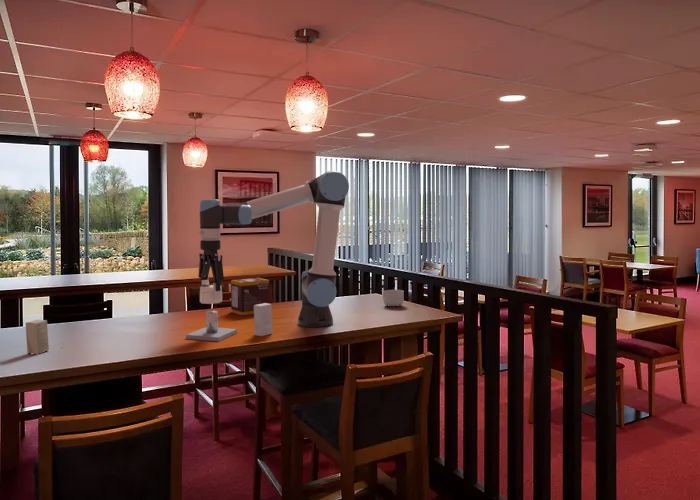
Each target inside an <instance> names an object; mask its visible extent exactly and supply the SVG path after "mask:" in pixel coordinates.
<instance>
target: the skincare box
mask: <svg viewBox="0 0 700 500" xmlns="http://www.w3.org/2000/svg"><path fill="white" fill-rule="evenodd" d="M253 324H254V325H253V328H254V336H257V337H258V336H259V337H264V336H268V335H272V334H273V305H272V304H271V303H269V304H268V303H263V304H257V305H254V314H253Z"/></svg>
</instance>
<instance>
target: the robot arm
mask: <svg viewBox="0 0 700 500" xmlns="http://www.w3.org/2000/svg"><path fill="white" fill-rule="evenodd" d="M349 189H350V184H349V180H348V179H347V177H346V175H344V174H343V173H342V172H339V171H336V170H329V171H326V172H324V173H323V174H320V175H319V176H317V177H314V178H313V179H310V180H306V181H305V183H304V184H302V185H298V186H295V187H292V188H288V189H285V190H281V191H279V192H275V193H272V194H268V195H266V196H265V195H264V196H262V197H258V198H255V199H251V200H249V201H246V202H245V201H244V202H241V203H237V204H222V203H221V201H220V199H205V198H204V199H201V200H200V202H199V227H200V228H199V230H200V231H199V235H200V239H201V240H200V242H199V244H200V245H199V247H200V250H202V251H203V252H201V253H200V252H199V264H198V274H197V275H198V278H199V279H200V280H201V286H202V285H210V277H209V275H210V269H211V274H212V277H213V281H212V285H213V300H218V299H221V288H222V285H221V283H222V282H224V281H225V277H224V268H223V254H221V255H220V254H218V251H219V250H221V240H220V239H221V225H242V226H243V225H250V224H251V223H252V220H253V219H257V218H260V217H263V216H266V215H267V216H268V215H270V214H273V213H277V212H280V211H284V210H287V209H291V208H294V207H297V206H301V205H304V204H307V203H311V204H315V205H316V206H317V207H318V214H317V221H316V231H315V240H314V246H313V247H314V248H313V256H312V257H313V258H312V265H311V268H309V269H308V270H305V271H302V273H301V277H300V278H301V279H300V280H301V307H300V311H299V314H298V318H297V324H298V326H300V325H301V327H305V326H309V327H308V328H319V327H318V326H325V327H329V326H332V325H333V324H334V319H333V314H332V312H331V308H330V305H331V304H333V302H334V300H336V297H337V286H336V283H337V273H336V272H335V270H334V266H335V258H336V249H337V241H338V240H337V239H338V231H339V222H340V216H341V215H340V214H341V211H342V209H344V208H345V204H346V197H347V195H348V193H349ZM331 324H332V325H331ZM328 325H329V326H328Z"/></svg>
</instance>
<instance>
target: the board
mask: <svg viewBox="0 0 700 500" xmlns="http://www.w3.org/2000/svg"><path fill="white" fill-rule="evenodd" d="M237 333H238V329H237V328H225V327H218V332H217V333H206V326H205V327H203V328H199V329H198V330H194V331H191V332H189V333H187V334H185V339H187V340H196V341H197V340H198V341H209V342H211V341H212V342H220V341H222V340H224V339H227V338H229V337H231V336H233V335H236V334H237Z"/></svg>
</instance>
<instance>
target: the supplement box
mask: <svg viewBox="0 0 700 500" xmlns="http://www.w3.org/2000/svg"><path fill="white" fill-rule="evenodd" d="M230 301H231V303H230V306H231V307H230V309H231V310H230V311H231V313H233V314H237V315H238V316H239V315H240V316H246V315H247V316H248V315H254V305H257V304H263V303H268V304H270V279H265V278H261V277H252V278H250V277H249V278H243V279H242V278H241V279H232V280H230Z"/></svg>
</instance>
